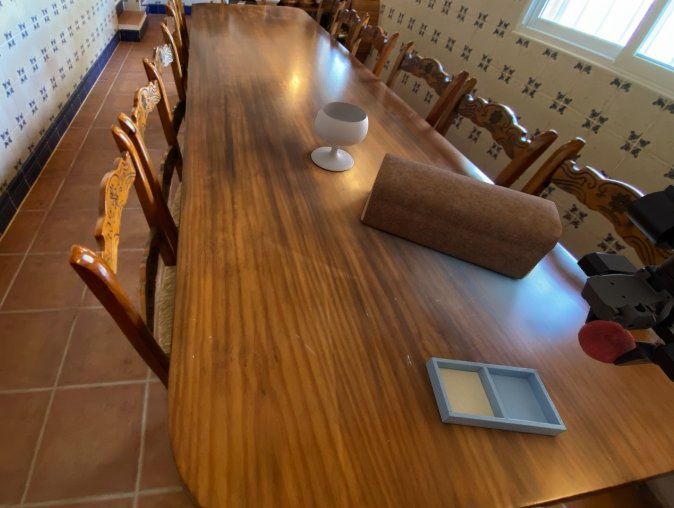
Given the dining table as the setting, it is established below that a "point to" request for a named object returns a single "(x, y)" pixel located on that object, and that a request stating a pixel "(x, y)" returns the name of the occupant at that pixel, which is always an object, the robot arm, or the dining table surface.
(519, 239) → the bread
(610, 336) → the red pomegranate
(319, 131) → the chalice
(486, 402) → the divided blue tray
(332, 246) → the dining table surface
